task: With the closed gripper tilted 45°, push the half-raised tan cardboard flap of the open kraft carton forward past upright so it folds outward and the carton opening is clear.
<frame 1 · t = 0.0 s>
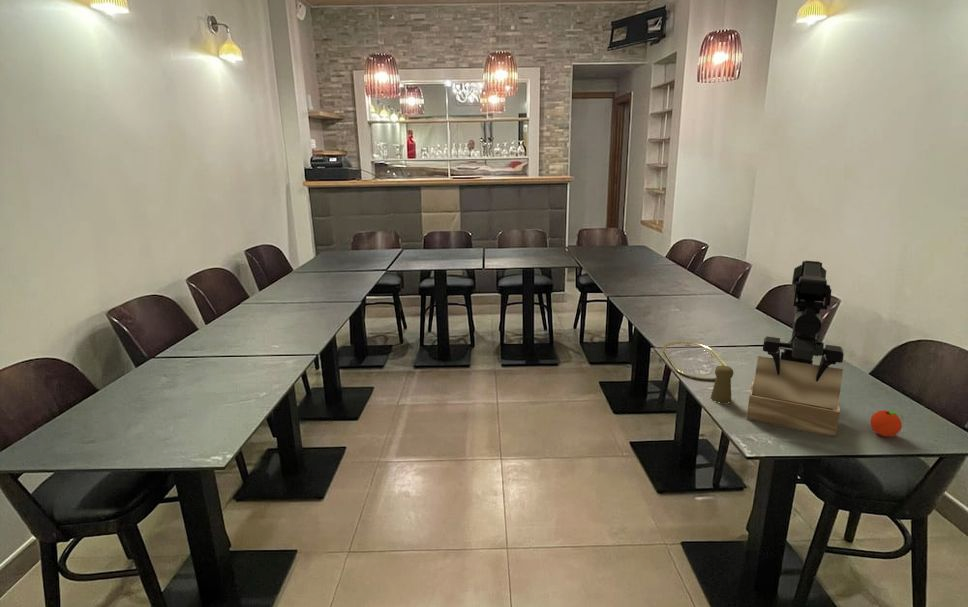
hand: (797, 377, 148), 15 cm above the table, tool pointing down, fingers open, 9 cm apart
cork: (720, 399, 168), on the table
clementine: (885, 435, 147), on the table
kraft carton: (789, 418, 156), on the table
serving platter: (693, 362, 198), on the table
carton flap: (796, 381, 149), point 13 cm above the table, hinge at 67.9°
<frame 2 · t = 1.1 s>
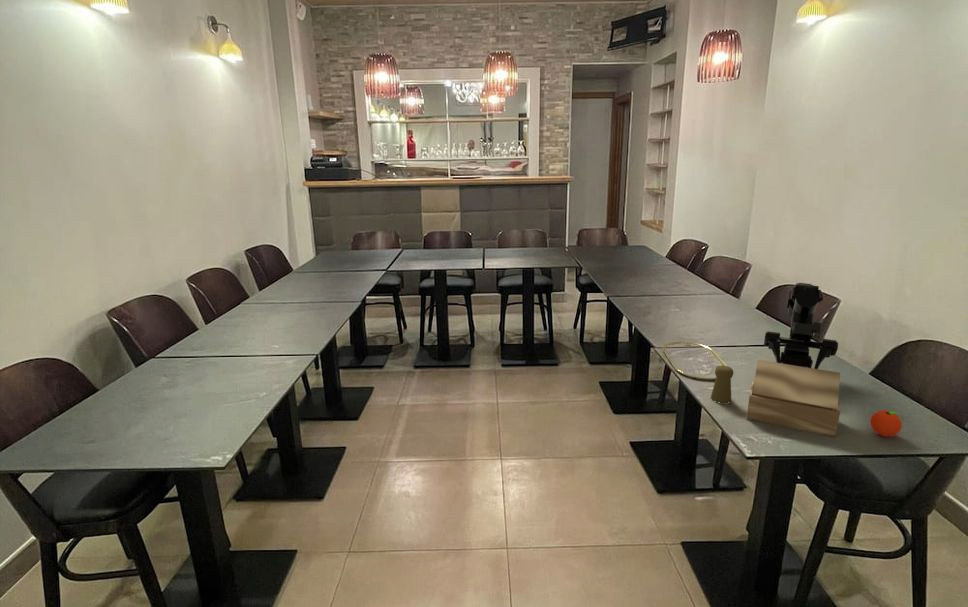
hand: (796, 369, 157), 13 cm above the table, tool tilted 40°, fingers open, 9 cm apart
carton flap: (795, 383, 151), point 12 cm above the table, hinge at 41.3°
everything else where it was.
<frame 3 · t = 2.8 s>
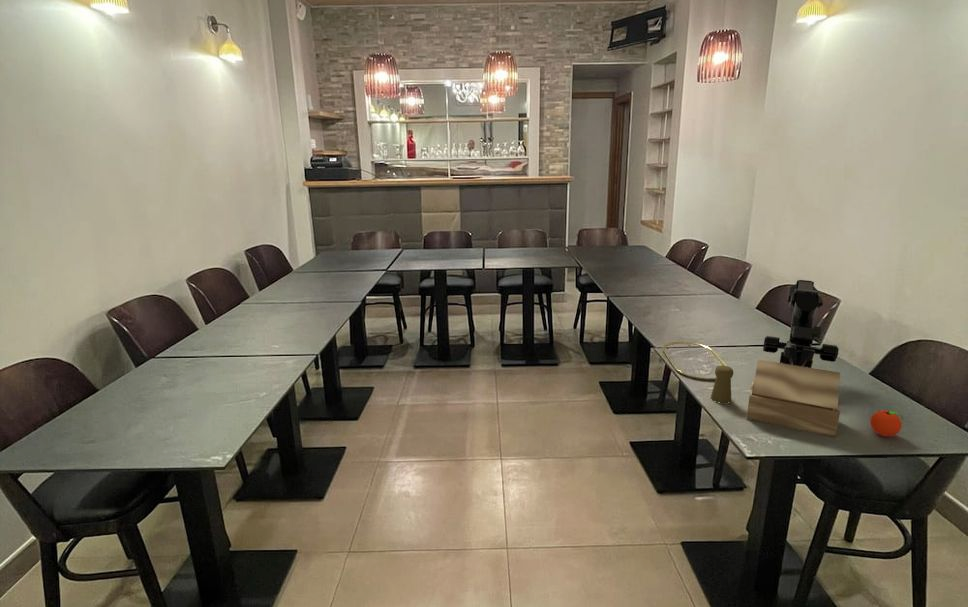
hand: (796, 374, 154), 13 cm above the table, tool tilted 45°, fingers closed, pressing on carton flap
carton flap: (795, 383, 151), point 12 cm above the table, hinge at 42.0°, touching gripper
everything else where it was.
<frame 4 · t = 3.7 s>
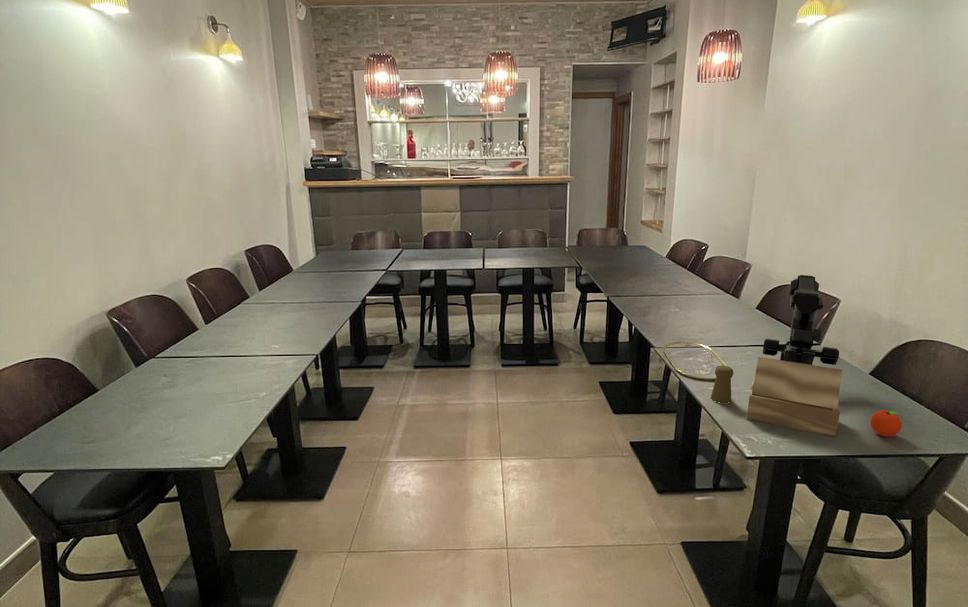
hand: (796, 378, 151), 13 cm above the table, tool tilted 45°, fingers closed, pressing on carton flap
carton flap: (796, 382, 150), point 13 cm above the table, hinge at 56.5°, touching gripper
everything else where it was.
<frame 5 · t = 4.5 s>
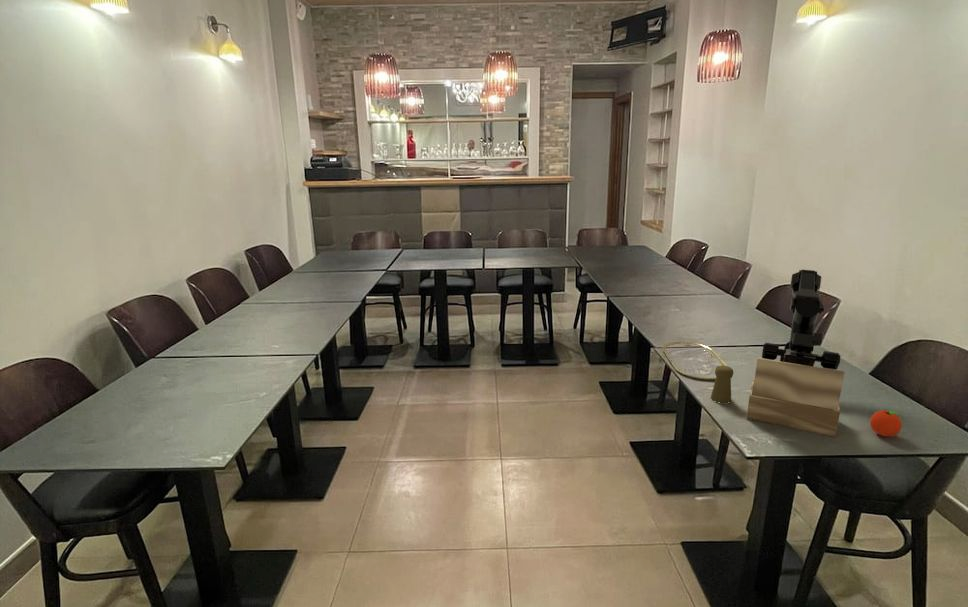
hand: (796, 383, 148), 13 cm above the table, tool tilted 45°, fingers closed, pressing on carton flap
carton flap: (796, 383, 147), point 14 cm above the table, hinge at 88.6°, touching gripper
everything else where it was.
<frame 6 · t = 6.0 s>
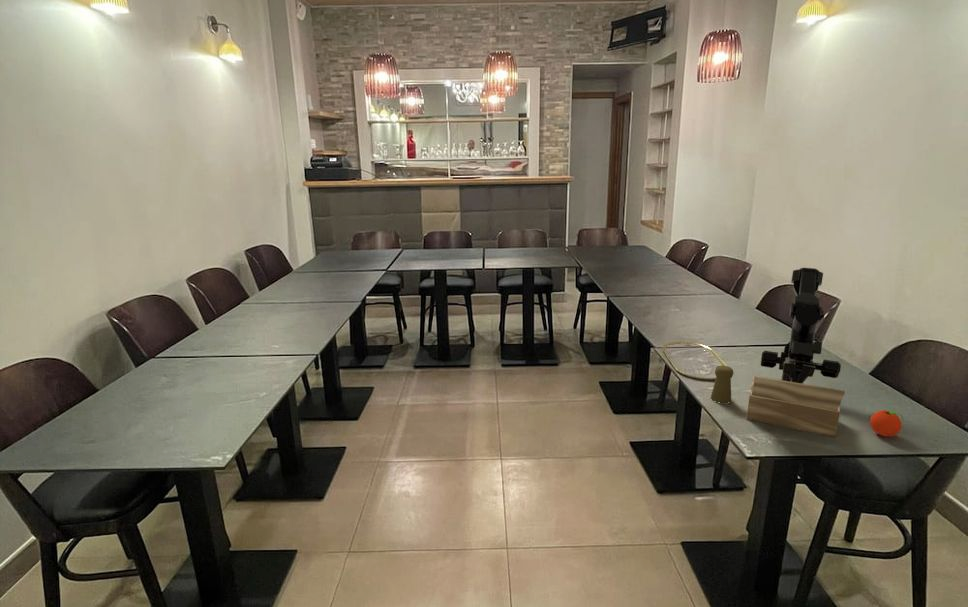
hand: (795, 392, 145), 12 cm above the table, tool tilted 45°, fingers closed, pressing on carton flap
carton flap: (795, 393, 145), point 12 cm above the table, hinge at 129.5°, touching gripper
everything else where it was.
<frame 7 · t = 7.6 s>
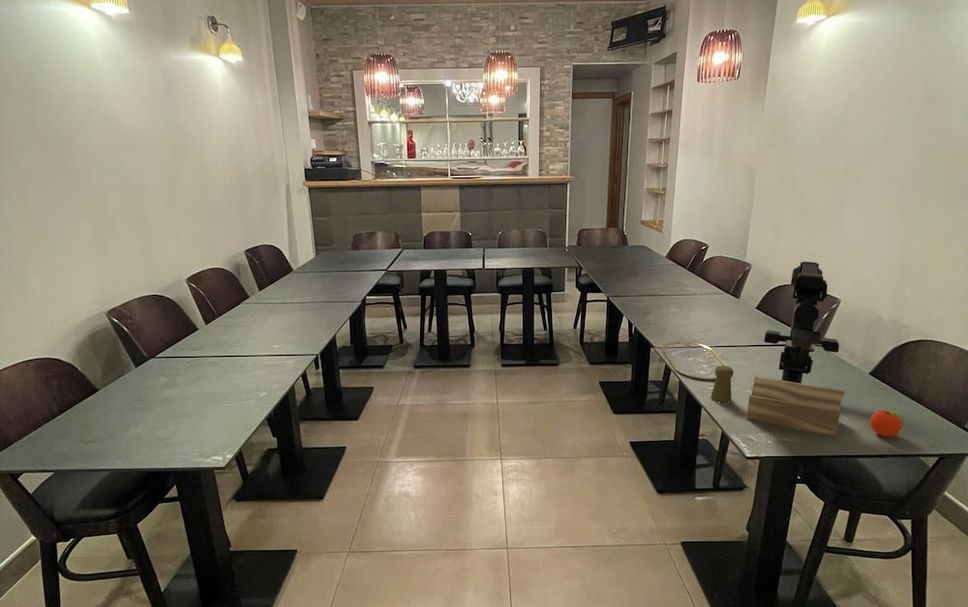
hand: (796, 368, 159), 13 cm above the table, tool pointing down, fingers closed
carton flap: (795, 393, 145), point 12 cm above the table, hinge at 129.6°
everything else where it was.
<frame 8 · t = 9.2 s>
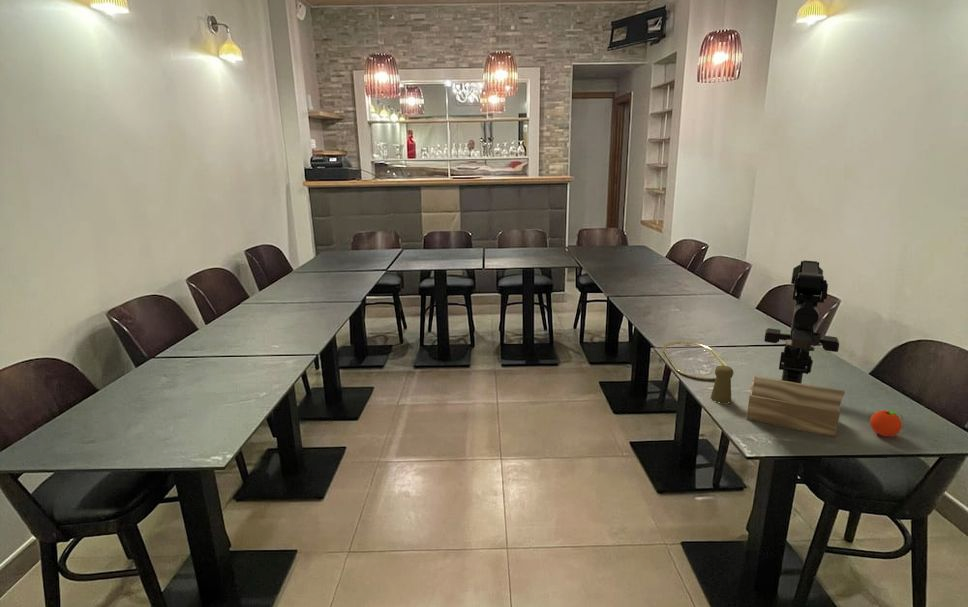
hand: (796, 366, 160), 13 cm above the table, tool pointing down, fingers closed
nothing on the table moved.
at the end: carton flap at +130° (first picture: +68°); cork moved 0.2 cm from its start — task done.
